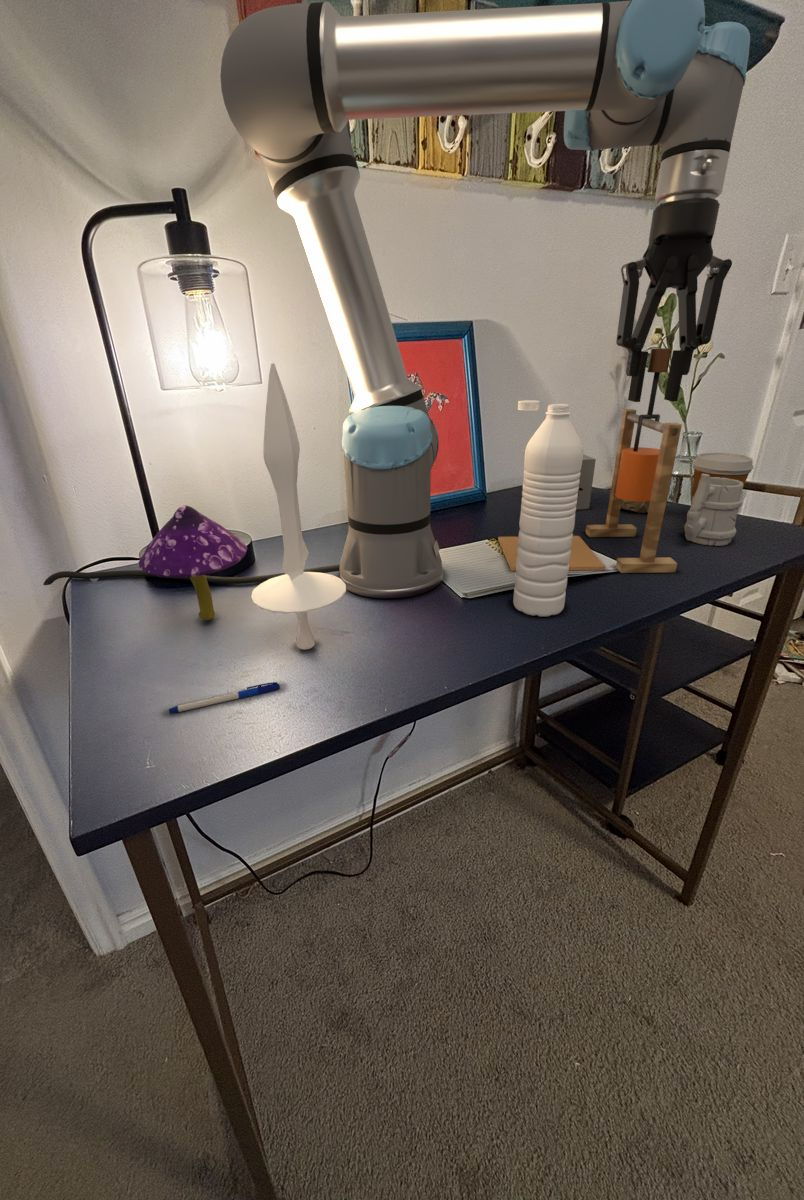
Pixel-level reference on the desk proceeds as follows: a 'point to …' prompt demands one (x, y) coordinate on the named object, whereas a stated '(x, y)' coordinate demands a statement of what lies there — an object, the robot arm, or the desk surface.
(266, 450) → the sculpture
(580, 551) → the cork mat
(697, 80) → the robot arm
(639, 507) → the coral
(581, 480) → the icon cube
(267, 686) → the ballpoint pen
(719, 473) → the disposable coffee cup
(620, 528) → the rail stand
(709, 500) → the mug
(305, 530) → the desk surface
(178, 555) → the decorative mushroom
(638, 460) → the orange cylinder on rod
